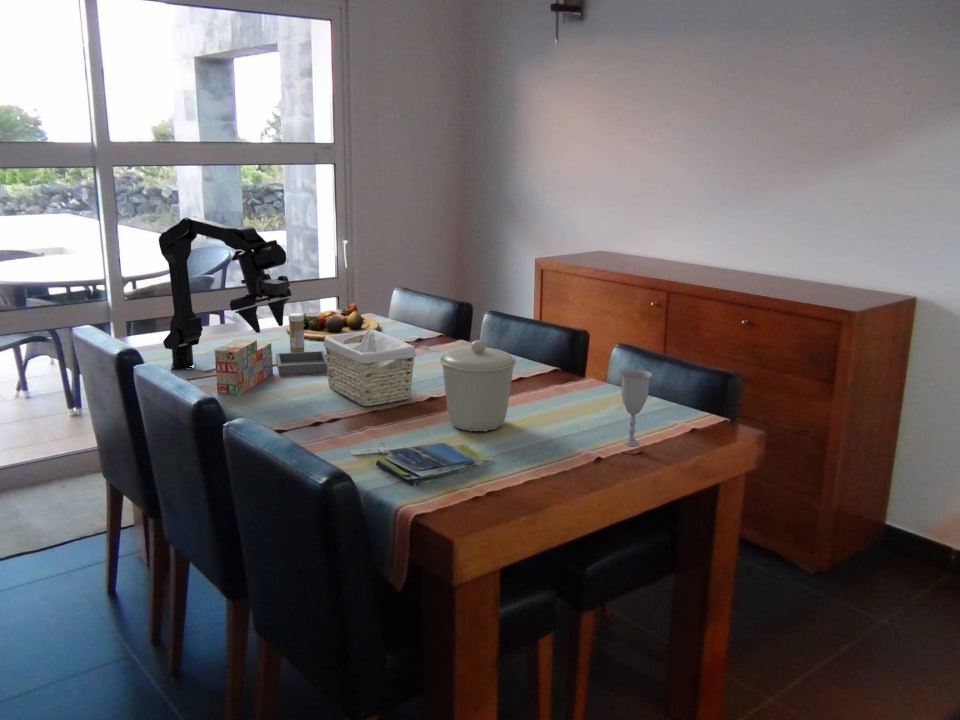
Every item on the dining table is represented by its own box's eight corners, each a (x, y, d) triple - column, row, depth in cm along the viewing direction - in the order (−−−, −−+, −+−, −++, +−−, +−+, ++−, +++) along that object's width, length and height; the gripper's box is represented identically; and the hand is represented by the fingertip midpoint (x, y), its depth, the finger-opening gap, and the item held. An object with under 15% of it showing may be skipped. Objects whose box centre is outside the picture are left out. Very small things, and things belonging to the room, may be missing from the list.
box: (276, 363, 254) (276, 353, 253) (323, 360, 258) (323, 351, 257) (279, 376, 241) (278, 365, 240) (328, 373, 245) (328, 363, 244)
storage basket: (322, 386, 232) (321, 334, 228) (375, 378, 241) (374, 327, 237) (362, 411, 213) (361, 354, 209) (418, 400, 222) (418, 346, 218)
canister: (442, 412, 213) (442, 330, 208) (514, 414, 213) (516, 332, 207) (436, 437, 196) (436, 349, 190) (514, 439, 195) (517, 351, 190)
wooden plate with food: (334, 317, 318) (333, 295, 315) (398, 328, 300) (397, 306, 297) (267, 334, 293) (265, 310, 291) (333, 348, 275) (331, 323, 273)
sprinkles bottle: (288, 355, 262) (286, 313, 259) (302, 354, 264) (301, 312, 261) (292, 359, 258) (290, 316, 255) (307, 357, 260) (305, 314, 257)
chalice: (611, 444, 193) (616, 368, 188) (641, 444, 194) (646, 368, 189) (619, 456, 186) (624, 378, 181) (649, 456, 187) (656, 378, 182)
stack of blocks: (253, 372, 244) (251, 330, 241) (273, 373, 243) (271, 332, 240) (217, 394, 224) (214, 349, 221) (239, 396, 223) (236, 350, 220)
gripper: (251, 271, 216) (268, 330, 218) (298, 262, 232) (313, 317, 234) (220, 280, 221) (237, 338, 223) (268, 271, 237) (283, 324, 239)
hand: (270, 329), depth 230 cm, fingers open, 9 cm apart
